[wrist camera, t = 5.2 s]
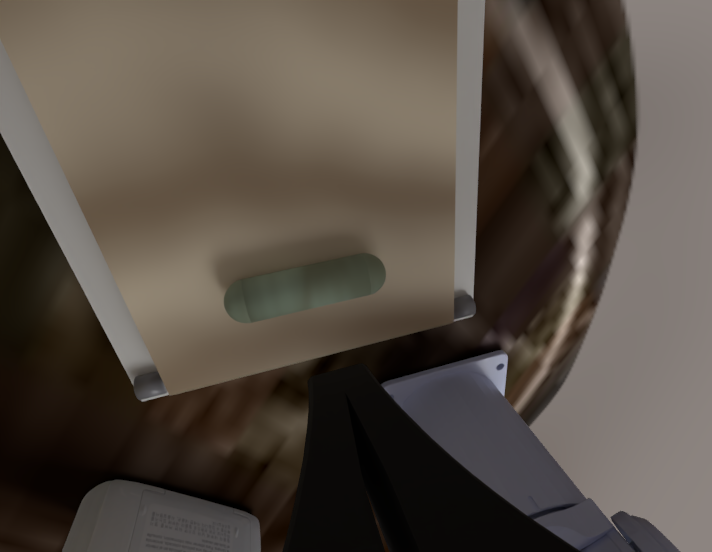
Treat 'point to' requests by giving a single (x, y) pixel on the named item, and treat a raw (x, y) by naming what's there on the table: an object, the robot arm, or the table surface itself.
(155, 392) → the light grey square plate
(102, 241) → the board
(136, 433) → the table surface
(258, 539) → the photo printer
